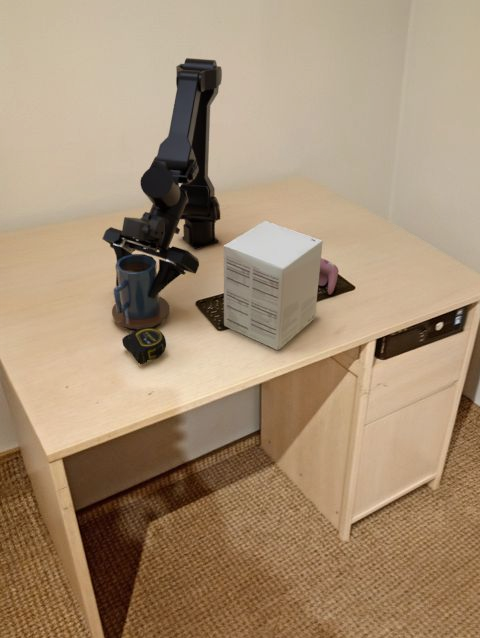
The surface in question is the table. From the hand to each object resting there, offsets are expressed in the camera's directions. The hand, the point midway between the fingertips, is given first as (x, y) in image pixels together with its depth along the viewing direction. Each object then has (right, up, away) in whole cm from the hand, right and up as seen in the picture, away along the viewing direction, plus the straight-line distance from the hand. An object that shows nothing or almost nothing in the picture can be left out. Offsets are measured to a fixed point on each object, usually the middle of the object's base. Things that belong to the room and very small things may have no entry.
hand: (134, 292), depth 114 cm
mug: (0, -4, +4) cm, 5 cm away
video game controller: (+35, +3, +17) cm, 39 cm away
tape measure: (+3, -12, -4) cm, 13 cm away
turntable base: (0, -5, +5) cm, 7 cm away
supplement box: (+25, -6, +5) cm, 27 cm away
